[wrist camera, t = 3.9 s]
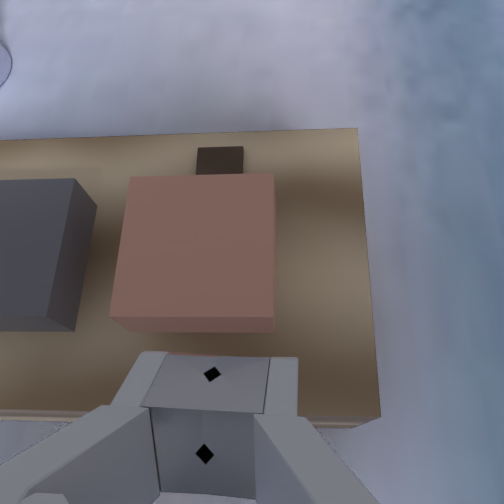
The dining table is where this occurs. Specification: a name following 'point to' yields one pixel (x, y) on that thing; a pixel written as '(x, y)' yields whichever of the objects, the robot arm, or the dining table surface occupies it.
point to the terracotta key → (197, 255)
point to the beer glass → (4, 64)
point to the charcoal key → (43, 253)
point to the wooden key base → (224, 344)
